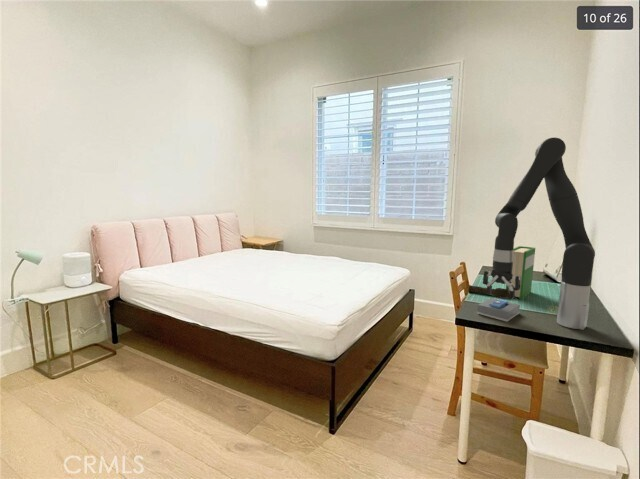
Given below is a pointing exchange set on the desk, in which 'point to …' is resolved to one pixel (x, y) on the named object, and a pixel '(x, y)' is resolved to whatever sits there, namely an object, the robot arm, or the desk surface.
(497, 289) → the hand tool
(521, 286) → the hardback book
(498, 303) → the block
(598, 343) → the desk surface
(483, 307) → the plate
